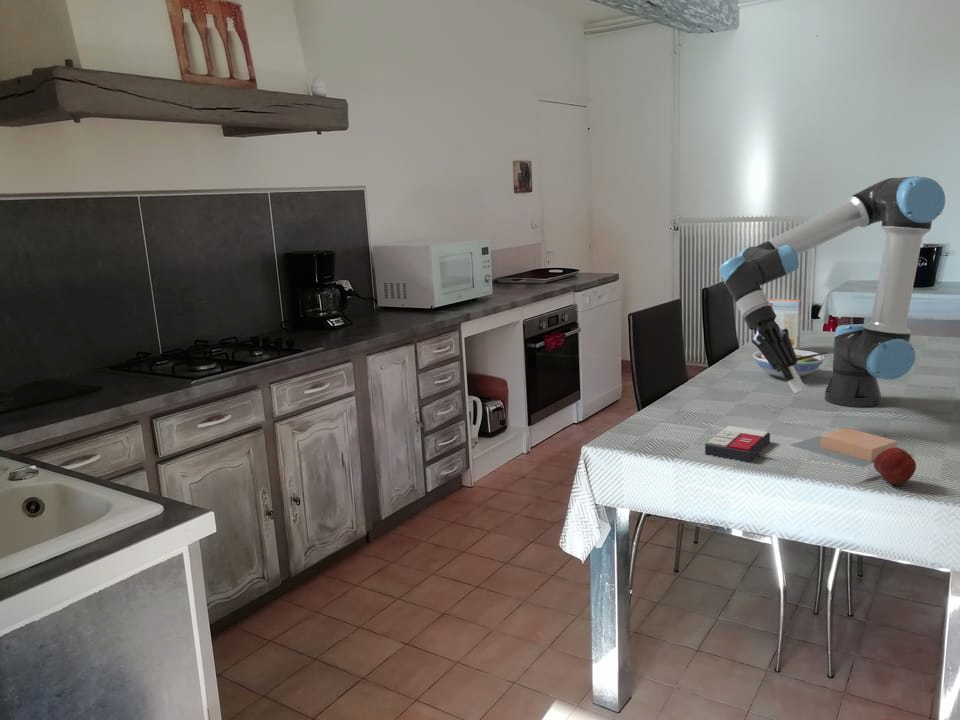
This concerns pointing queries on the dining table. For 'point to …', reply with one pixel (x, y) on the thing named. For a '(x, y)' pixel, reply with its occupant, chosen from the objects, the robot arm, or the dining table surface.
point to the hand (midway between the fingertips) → (799, 390)
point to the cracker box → (788, 318)
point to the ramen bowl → (804, 365)
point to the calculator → (737, 443)
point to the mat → (828, 451)
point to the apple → (895, 465)
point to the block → (856, 443)
